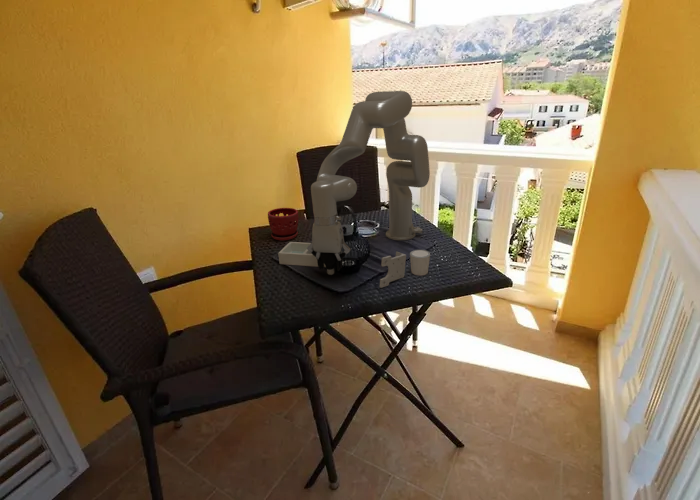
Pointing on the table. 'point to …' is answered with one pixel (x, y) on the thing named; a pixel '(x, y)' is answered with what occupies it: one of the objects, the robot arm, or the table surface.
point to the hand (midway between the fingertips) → (330, 268)
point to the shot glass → (419, 262)
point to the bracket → (393, 268)
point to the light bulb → (329, 261)
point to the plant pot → (283, 223)
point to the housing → (297, 255)
